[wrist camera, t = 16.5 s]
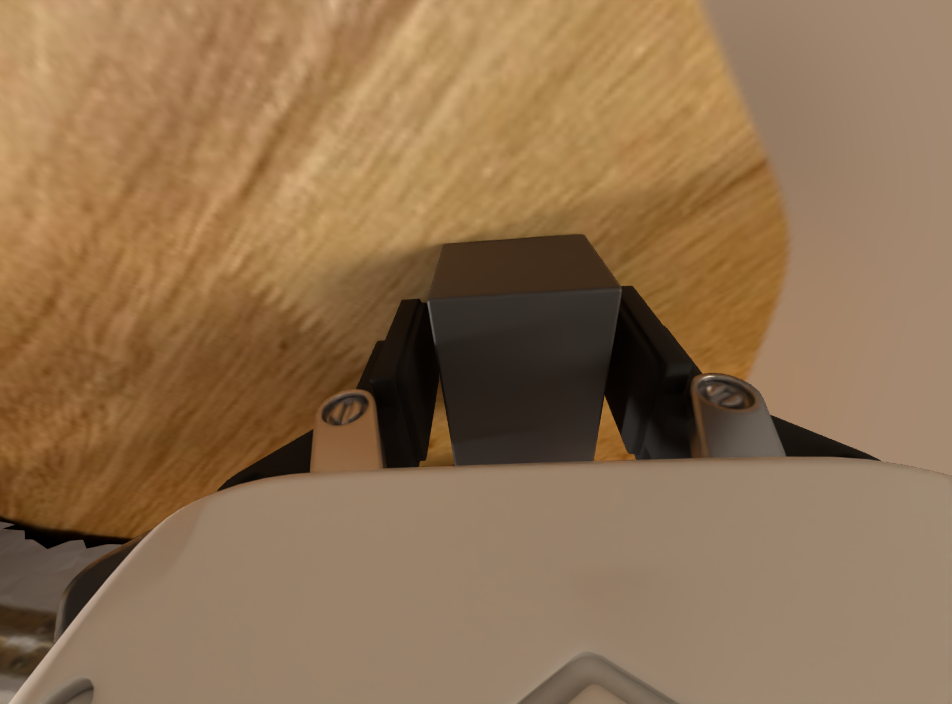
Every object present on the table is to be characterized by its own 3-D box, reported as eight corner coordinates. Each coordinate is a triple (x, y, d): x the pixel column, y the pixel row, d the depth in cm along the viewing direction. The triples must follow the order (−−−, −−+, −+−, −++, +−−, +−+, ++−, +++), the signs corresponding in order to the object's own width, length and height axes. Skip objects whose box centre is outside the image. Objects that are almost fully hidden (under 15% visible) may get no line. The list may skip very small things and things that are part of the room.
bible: (305, 682, 35) (248, 860, 27) (-47, 616, 28) (-266, 829, 20) (397, 592, 23) (346, 865, 15) (-179, 437, 16) (-878, 792, 8)
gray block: (441, 243, 10) (425, 299, 8) (585, 233, 10) (624, 287, 7) (462, 399, 14) (456, 479, 11) (569, 394, 14) (592, 474, 11)
